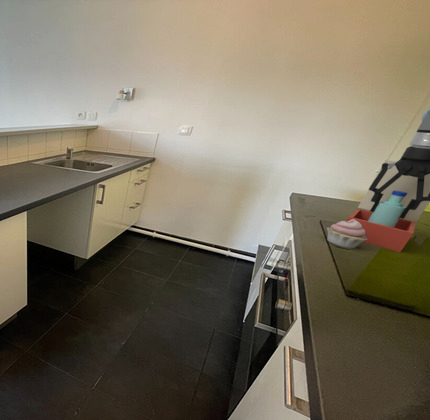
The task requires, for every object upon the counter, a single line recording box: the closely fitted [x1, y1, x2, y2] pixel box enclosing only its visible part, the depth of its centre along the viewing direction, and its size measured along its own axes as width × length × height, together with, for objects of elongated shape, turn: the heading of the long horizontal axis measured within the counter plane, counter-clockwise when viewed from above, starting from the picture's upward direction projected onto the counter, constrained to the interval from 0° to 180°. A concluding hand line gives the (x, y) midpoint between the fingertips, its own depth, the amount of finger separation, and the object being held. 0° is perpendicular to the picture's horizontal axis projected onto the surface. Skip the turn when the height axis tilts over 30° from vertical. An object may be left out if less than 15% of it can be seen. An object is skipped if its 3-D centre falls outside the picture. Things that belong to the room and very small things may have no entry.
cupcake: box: [326, 219, 367, 251], centre depth 82 cm, size 9×9×10 cm
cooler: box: [346, 208, 417, 253], centre depth 88 cm, size 18×14×8 cm
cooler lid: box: [357, 159, 430, 222], centre depth 88 cm, size 19×14×1 cm
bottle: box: [368, 191, 407, 228], centre depth 86 cm, size 6×6×16 cm
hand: (386, 214), depth 86 cm, fingers closed on bottle, 6 cm apart
